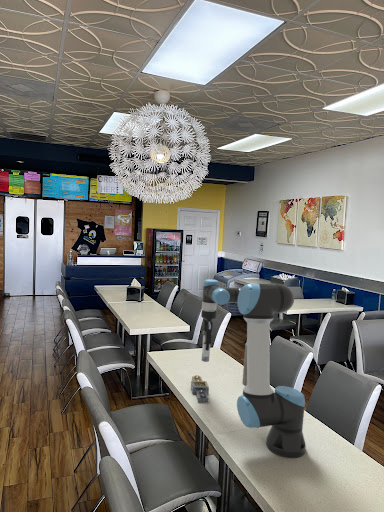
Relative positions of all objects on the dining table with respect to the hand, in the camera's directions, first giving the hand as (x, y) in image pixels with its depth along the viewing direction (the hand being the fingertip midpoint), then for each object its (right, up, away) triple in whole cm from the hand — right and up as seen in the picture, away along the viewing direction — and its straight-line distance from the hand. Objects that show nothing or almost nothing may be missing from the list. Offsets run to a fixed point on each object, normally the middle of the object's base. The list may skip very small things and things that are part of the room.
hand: (205, 354), depth 202 cm
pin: (0, -3, 0) cm, 3 cm away
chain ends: (-3, -19, +2) cm, 20 cm away
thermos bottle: (+25, -20, +16) cm, 36 cm away
